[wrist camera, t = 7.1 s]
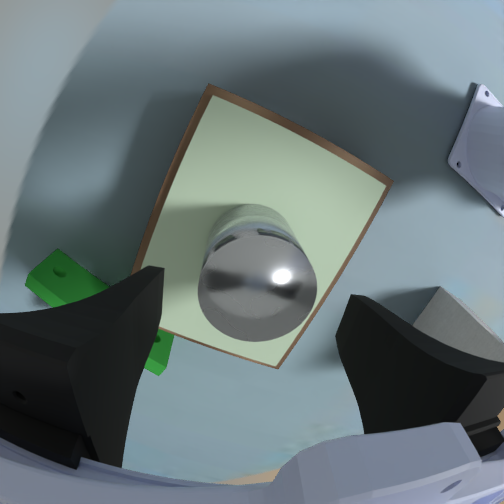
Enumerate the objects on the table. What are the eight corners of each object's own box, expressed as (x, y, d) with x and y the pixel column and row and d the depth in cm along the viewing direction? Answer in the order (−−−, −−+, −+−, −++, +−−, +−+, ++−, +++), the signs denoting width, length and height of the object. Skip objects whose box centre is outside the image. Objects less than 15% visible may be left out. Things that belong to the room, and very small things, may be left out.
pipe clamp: (45, 281, 21) (16, 309, 17) (59, 247, 20) (27, 272, 16) (154, 356, 24) (142, 395, 20) (176, 329, 23) (166, 368, 19)
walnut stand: (366, 170, 19) (397, 182, 15) (271, 334, 24) (278, 373, 20) (213, 92, 17) (207, 82, 13) (136, 282, 22) (117, 315, 17)
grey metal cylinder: (302, 212, 16) (331, 247, 11) (283, 289, 17) (300, 346, 13) (214, 197, 15) (205, 227, 11) (202, 278, 17) (192, 334, 12)
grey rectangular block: (395, 345, 25) (445, 425, 16) (440, 285, 23) (509, 354, 14) (418, 354, 26) (466, 427, 17) (460, 299, 24) (523, 363, 15)
